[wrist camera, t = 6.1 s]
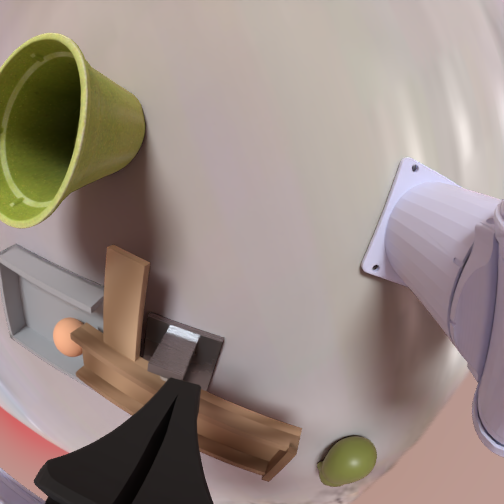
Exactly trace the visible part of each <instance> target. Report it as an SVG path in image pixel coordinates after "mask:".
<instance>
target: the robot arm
mask: <svg viewBox="0 0 504 504" xmlns="http://www.w3.org/2000/svg"><path fill="white" fill-rule="evenodd" d="M413 165H415V166H416V170H415V172H413V171H412V166H413ZM374 265H378V267H377V269H375V270H372V268H373V266H374ZM361 267H362V269H363V270H364V272H366V273H369V274H372V275H375V276H378V277H381V278H383V279H386V280H389V281H392V282H395V283H398V284H401V285H404V286H406V287H409V288H410V289H411V291H412V292H413V293H414V294H415V295H416V297H417V298H418V299H419V300H420V302H421V303H422V304H423V305H424V306H425V308H426V309H427V310H428V311H429V313H430V314H431V315H432V316H433V318H434V319H435V320H436V322H437V323H438V324H439V325H440V327H441V328H442V329H443V331H444V332H445V333H446V335H447V336H448V337H449V339H450V340H451V341H452V343H453V344H454V345H455V347H456V348H457V350H458V351H459V352H460V354H461V355H462V356H463V358H464V359H465V360H466V361H467V362H468V366H467V367H468V369H469V370H470V372H471V373H472V375H473V376H474V377H475V379H476V381H477V382H478V385H477V388H476V391H475V394H474V398H473V403H472V418H473V424H474V427H475V431H476V432H477V435H478V437H479V439H480V440H481V441H482V443H483V444H484V445H485V446H486V447H487V448H488V449H489V450H490V451H492V452H493V453H495V454H497V455H499V456H501V457H504V199H503V200H501V199H498V198H494V197H491V196H488V195H485V194H482V193H478V192H475V191H471V190H468V189H464V188H462V187H461V186H459V185H457V184H456V183H454V182H453V181H451V180H449V179H448V178H446V177H444V176H443V175H441V174H439V173H437V172H436V171H434V170H432V169H430V168H429V167H427V166H425V165H423V164H421V163H420V162H418V161H416V160H414V159H412V158H409V157H404V158H403V159H402V160H401V161H400V164H399V167H398V170H397V173H396V176H395V179H394V182H393V185H392V188H391V191H390V193H389V196H388V199H387V202H386V204H385V207H384V209H383V212H382V215H381V217H380V220H379V222H378V225H377V227H376V230H375V232H374V235H373V237H372V240H371V242H370V244H369V247H368V249H367V251H366V254H365V256H364V258H363V260H362V263H361ZM200 394H201V386H200V385H198V384H194V383H190V382H186V381H182V380H179V379H175V378H172V377H171V378H168V380H167V381H166V382H165V384H164V385H163V386H162V387H161V388H160V389H159V391H158V392H157V393H156V394H155V395H154V396H153V397H152V398H151V399H150V400H149V401H148V402H147V403H146V404H145V405H144V406H143V407H142V408H141V409H140V410H139V411H137V412H136V413H135V414H134V415H133V416H131V417H130V418H129V419H128V420H127V421H125V422H124V423H123V424H122V425H120V426H119V427H117V428H116V429H115V430H113V431H112V432H110V433H109V434H107V435H105V436H104V437H102V438H100V439H99V440H97V441H95V442H93V443H91V444H89V445H87V446H85V447H83V448H81V449H78V450H76V451H74V452H72V453H69V454H66V455H63V456H61V457H57V458H54V459H50V460H48V461H47V462H46V463H45V465H43V467H42V468H41V469H40V471H39V472H38V474H37V476H36V478H35V479H34V483H35V485H36V486H37V487H38V488H39V489H41V490H42V491H43V492H44V493H45V494H46V495H47V496H48V498H47V500H46V501H44V500H43V499H41V498H40V497H38V496H37V495H35V494H34V493H33V492H31V491H30V490H28V489H27V488H26V487H24V486H23V485H21V484H20V483H19V482H18V481H16V480H15V479H14V478H12V477H11V476H10V475H9V474H8V473H6V472H5V471H4V470H3V469H2V468H0V504H213V501H212V498H211V496H210V492H209V489H208V486H207V482H206V479H205V475H204V471H203V467H202V462H201V457H200V451H199V444H198V434H197V418H198V413H199V405H200Z"/></svg>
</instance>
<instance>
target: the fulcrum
mask: <svg viewBox="0 0 504 504" xmlns="http://www.w3.org/2000/svg"><path fill="white" fill-rule="evenodd" d="M223 339H224V338H223V337H220V336H217V335H214V334H211V333H208V332H205V331H202V330H199V329H196V328H193V327H190V326H187V325H185V324H182V323H179V322H176V321H173V320H171V319H168V318H165V317H163V316H160V315H157V314H155V313H152V312H150V314H149V315H148V318H147V326H146V335H145V345H144V356H143V359H145V360H147V361H149V363H148V370H147V371H149V372H151V373H154V374H156V375H159V376H161V377H164V378H167V379H168V378H171V377H172V378H175V379H179V380H184V381H186V382H190V383H194V384H198V385H200V386H201V389H202V390H205V391H207V388H208V385H209V382H210V379H211V376H212V373H213V370H214V367H215V364H216V361H217V358H218V355H219V352H220V349H221V346H222V343H223Z"/></svg>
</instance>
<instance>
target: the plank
mask: <svg viewBox="0 0 504 504" xmlns="http://www.w3.org/2000/svg"><path fill="white" fill-rule="evenodd" d="M149 270H150V262H148V261H146V260H144V259H142V258H139V257H137V256H135V255H133V254H131V253H129V252H127V251H125V250H123V249H121V248H119V247H117V246H115V245H111V246H108V247H107V253H106V265H105V280H104V306H103V333H102V332H100V331H99V330H97V329H96V328H94V327H93V326H91V325H90V324H88V323H87V322H86V323H85V324H83V325H82V326H80V327H79V328H77V329H76V330H74V331H73V332H71V333H70V337H71V340H73V341H74V342H75V343H76V344H78V345H79V346H80V347H82V353H83V362H84V366H82V367H81V368H80V369H79V370H78V371H76V377H78V378H79V379H80V380H81V381H83V382H84V383H85V384H87V385H88V386H89V387H91V388H92V389H93V390H95V391H96V392H98V393H99V394H100V395H102V396H103V397H105V398H106V399H107V400H109V401H110V402H112V403H113V404H115V405H116V406H118V407H119V408H121V409H122V410H124V411H126V412H127V413H129V414H130V415H132V416H133V415H134V414H135V413H136V412H137V411H139V410H140V409H141V408H142V407H143V406H144V405H145V404H146V403H147V402H148V401H149V400H150V399H151V398H152V397H153V396H154V395H155V394H156V393H157V392H158V391H159V389H160V388H161V387H162V386H163V385H164V384H165V382H166V381H167V380H168V379H167V378H164V377H161V376H159V375H156V374H154V373H151V372H149V371H147V370H148V363H149V361H147V360H145V359H143V358H142V357H140V344H141V333H142V323H143V314H144V306H145V298H146V290H147V283H148V276H149ZM182 381H184V380H182ZM301 430H302V428H299V427H296V426H293V425H290V424H287V423H284V422H281V421H278V420H275V419H273V418H270V417H267V416H264V415H262V414H259V413H256V412H254V411H251V410H249V409H246V408H244V407H241V406H239V405H236V404H234V403H232V402H229V401H227V400H225V399H222V398H220V397H218V396H215V395H213V394H211V393H209V392H207V391H205V390H202V389H201V394H200V405H199V413H198V418H197V434H198V444H199V451H200V452H202V453H204V454H207V455H209V456H211V457H214V458H216V459H218V460H221V461H223V462H226V463H228V464H231V465H234V466H236V467H239V468H242V469H245V470H247V471H250V472H253V473H256V474H259V475H262V480H265V481H268V482H269V481H270V480H271V479H272V478H273V477H274V476H275V475H276V474H277V473H278V472H280V471H281V470H282V469H283V468H284V467H285V466H286V465H287V464H288V463H289V462H290V461H291V460H292V459H293V457H294V456H295V455H296V454H297V449H298V445H299V440H300V435H301Z"/></svg>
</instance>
